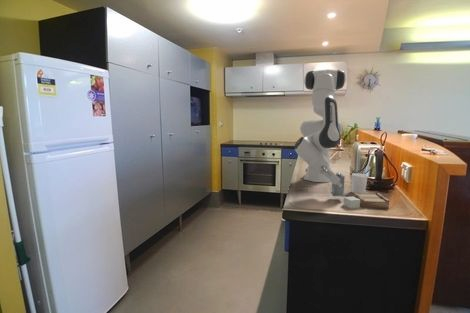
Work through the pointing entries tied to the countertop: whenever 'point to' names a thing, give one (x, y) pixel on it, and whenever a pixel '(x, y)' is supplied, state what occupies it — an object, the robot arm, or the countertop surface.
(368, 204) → the stand
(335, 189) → the housing
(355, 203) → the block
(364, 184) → the white cup
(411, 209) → the countertop surface
